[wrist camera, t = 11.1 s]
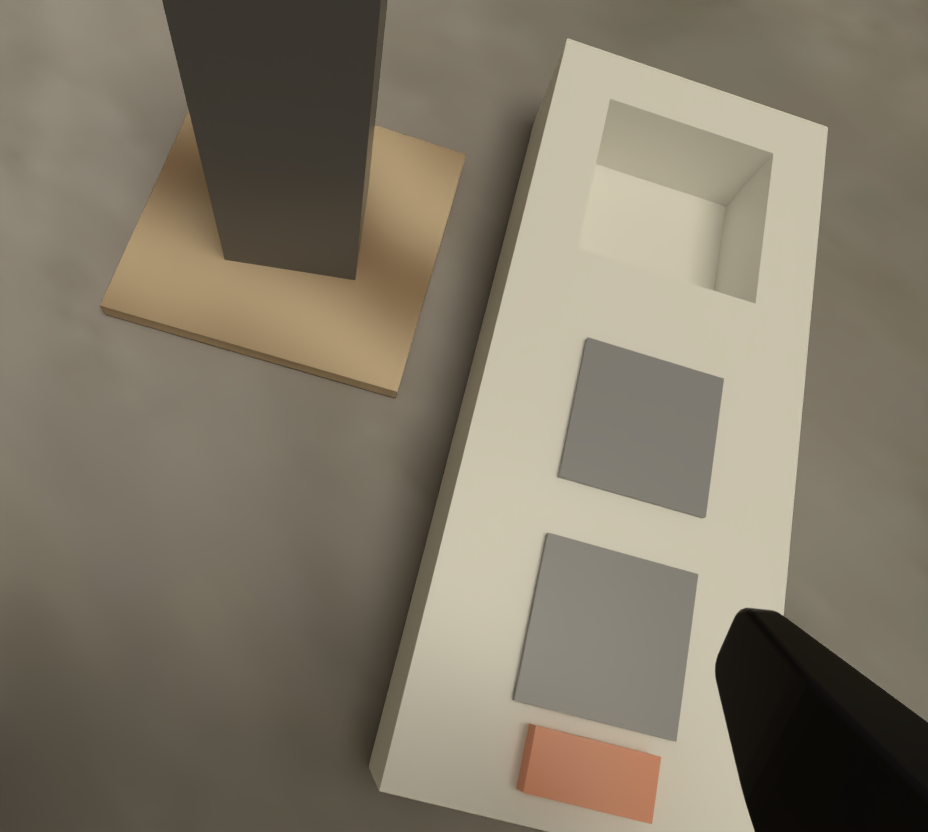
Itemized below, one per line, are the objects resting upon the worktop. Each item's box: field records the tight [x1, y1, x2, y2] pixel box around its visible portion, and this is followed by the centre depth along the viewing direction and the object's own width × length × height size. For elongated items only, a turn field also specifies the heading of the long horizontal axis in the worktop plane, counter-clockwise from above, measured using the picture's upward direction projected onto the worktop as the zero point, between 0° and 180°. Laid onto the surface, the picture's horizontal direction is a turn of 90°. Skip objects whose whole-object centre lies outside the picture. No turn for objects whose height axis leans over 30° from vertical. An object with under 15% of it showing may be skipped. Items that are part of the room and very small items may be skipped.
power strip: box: [369, 38, 828, 832], centre depth 22 cm, size 22×9×5 cm, turn 165°
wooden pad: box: [100, 111, 466, 398], centre depth 24 cm, size 9×9×1 cm
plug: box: [162, 0, 387, 280], centre depth 18 cm, size 3×4×14 cm
